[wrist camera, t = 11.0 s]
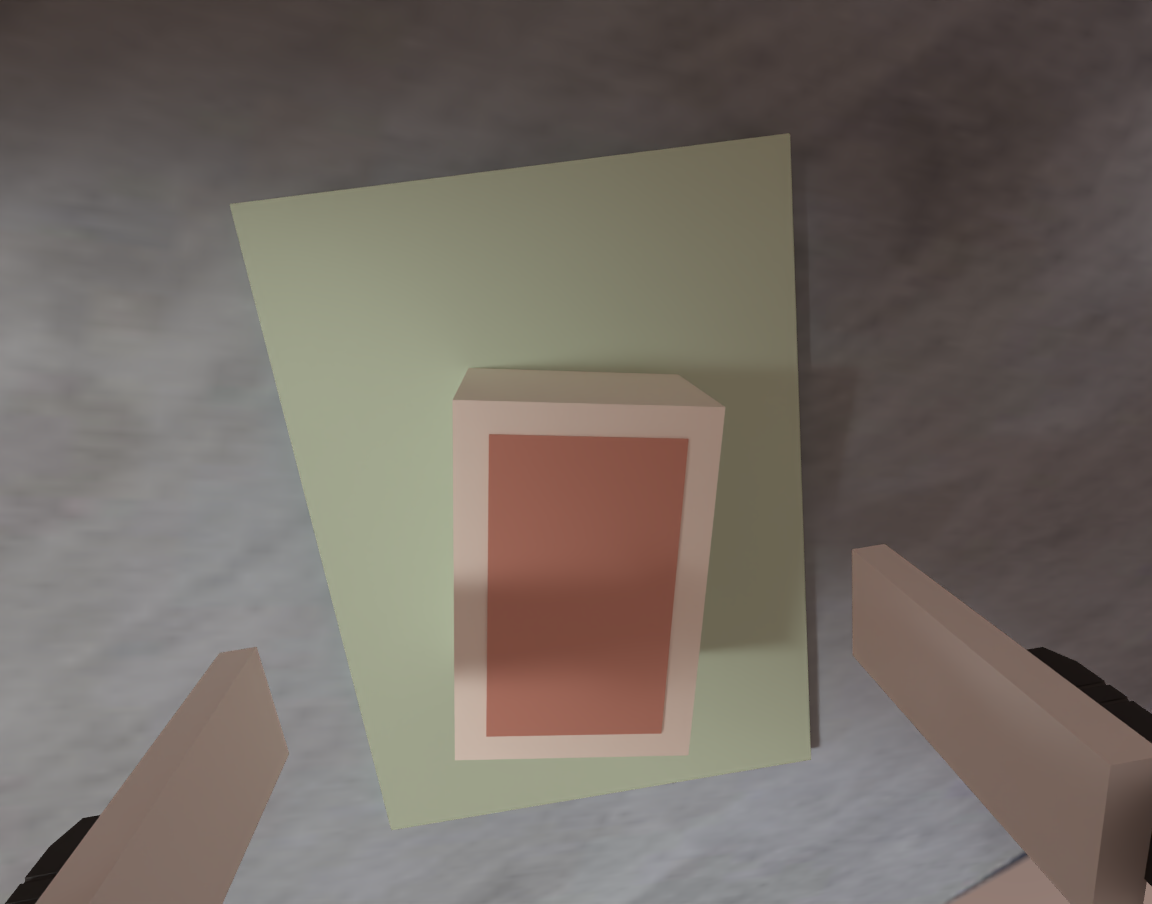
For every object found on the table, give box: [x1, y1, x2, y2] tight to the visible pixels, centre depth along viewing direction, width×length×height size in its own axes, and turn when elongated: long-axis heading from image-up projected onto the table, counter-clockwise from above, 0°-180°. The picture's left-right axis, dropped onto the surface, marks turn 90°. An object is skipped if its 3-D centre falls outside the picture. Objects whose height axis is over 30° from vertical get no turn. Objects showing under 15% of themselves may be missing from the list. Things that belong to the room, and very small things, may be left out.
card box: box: [452, 368, 725, 760], centre depth 19 cm, size 10×6×5 cm, turn 177°
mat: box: [230, 133, 811, 830], centre depth 22 cm, size 16×22×1 cm
